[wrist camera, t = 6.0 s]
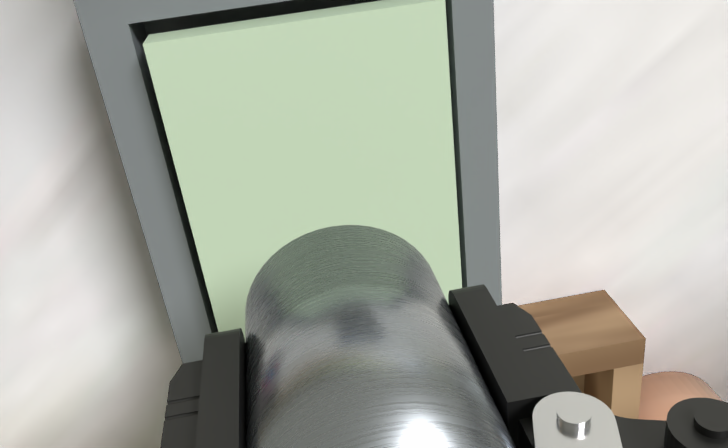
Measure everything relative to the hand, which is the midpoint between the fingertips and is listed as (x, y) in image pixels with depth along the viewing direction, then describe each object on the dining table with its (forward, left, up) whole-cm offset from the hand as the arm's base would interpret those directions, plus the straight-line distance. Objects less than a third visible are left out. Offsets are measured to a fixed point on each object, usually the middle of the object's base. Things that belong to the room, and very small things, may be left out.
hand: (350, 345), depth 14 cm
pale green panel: (0, 0, -8) cm, 8 cm away
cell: (0, 0, -1) cm, 1 cm away
